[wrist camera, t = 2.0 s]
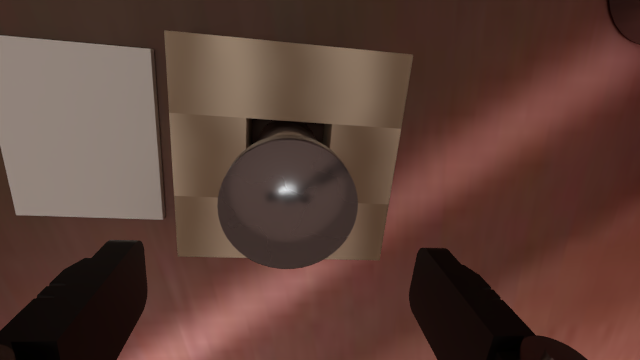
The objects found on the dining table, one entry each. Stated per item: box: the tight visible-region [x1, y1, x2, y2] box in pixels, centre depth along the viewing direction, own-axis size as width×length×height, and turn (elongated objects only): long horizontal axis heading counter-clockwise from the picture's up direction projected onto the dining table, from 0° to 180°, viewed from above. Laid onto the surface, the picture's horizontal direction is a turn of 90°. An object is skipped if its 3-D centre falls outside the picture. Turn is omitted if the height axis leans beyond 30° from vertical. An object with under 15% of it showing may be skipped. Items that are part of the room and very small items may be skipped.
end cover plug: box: [217, 120, 358, 269], centre depth 20 cm, size 6×6×11 cm
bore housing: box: [164, 30, 413, 260], centre depth 23 cm, size 14×14×4 cm
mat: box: [0, 35, 165, 220], centre depth 23 cm, size 10×12×1 cm
